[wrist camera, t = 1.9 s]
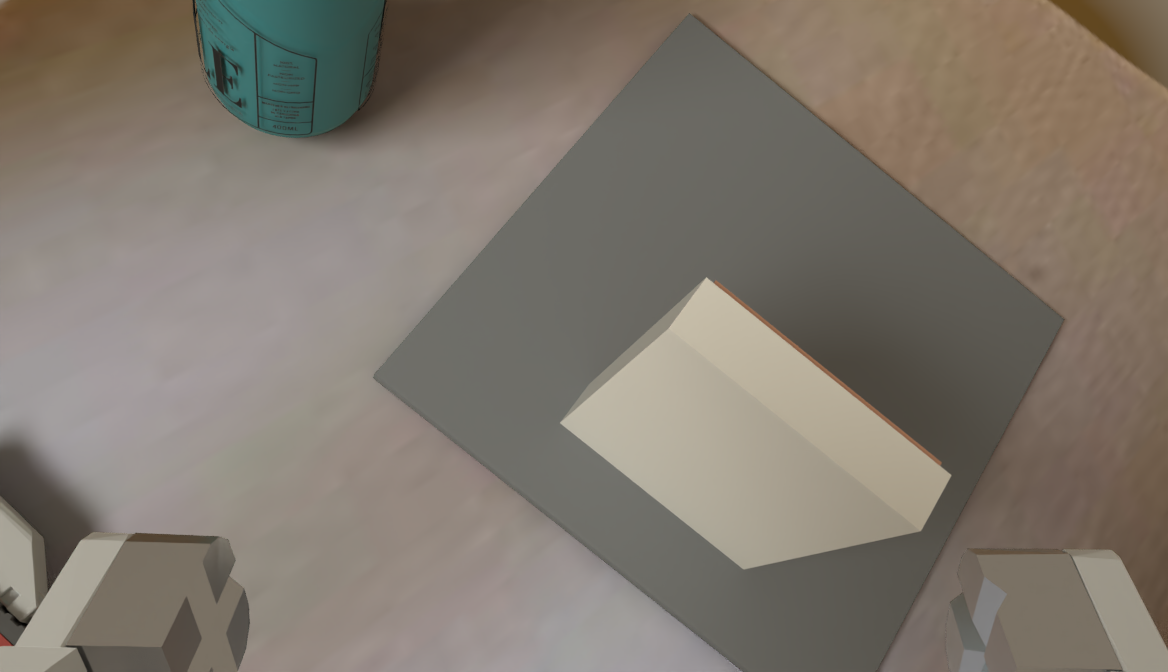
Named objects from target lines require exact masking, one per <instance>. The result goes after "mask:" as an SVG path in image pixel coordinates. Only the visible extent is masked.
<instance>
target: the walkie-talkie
mask: <svg viewBox="0 0 1168 672" xmlns="http://www.w3.org/2000/svg"><path fill="white" fill-rule="evenodd" d="M47 593H48V584H47V570H46V556H45V544H44V538H43V537H42V536H41V535H40V534H39V533H38V532H37V531H36V530H35V529H34V528H33V527H32V526H31V525H30V524H29V523H28V522H27V521H26V520H25V519H24V518H23V517H22V516H21V515H20V514H19V513H18V512H17V511H16V510H15V509H14V508H13V507H12V506H11V505H10V504H9V503H7V502H6V501H5V500H4V499H3V498H2V497H1V496H0V647H1V646H15V644H16V643H17V641H18V640H19V638H20V636H21V635H22V633H23V632H24V630H25V628H26V627H27V625H28V624H27V623H29V622H30V620H31V619H32V617H33V616H34V614H35V612H36V611H37V609H38V608H39V606H40V604H41V603H42V601H43V600H44V598H45V596H46V595H47Z"/></svg>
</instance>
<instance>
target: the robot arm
mask: <svg viewBox="0 0 1168 672" xmlns="http://www.w3.org/2000/svg"><path fill="white" fill-rule="evenodd" d="M235 561H236V560H235V557H234V554H233V551H232V548H231V546H230V543H229V540H228V539H225V538H222V537H218V536H194V535H171V534H147V533H135V534H127V533H104V532H92V533H91V534H89V535H88V536H86V537H85V538H84V539H82V540H81V541H80V542H79V543H78V545H77V547H76V548H75V550H74V551H73V553H72V555H71V556H70V558H69V559H68V561H67V563H66V564H65V566H64V567H63V569H62V571H61V572H60V574H59V576H58V577H57V579H56V580H55V582H54V584H53V585H52V587H51V588H50V590H49V592H48V593H47V595H46V596H45V598H44V600H43V601H42V603H41V604H40V606H39V608H38V609H37V611H36V612H35V614H34V616H33V617H32V619H31V620H30V622H29V624H28V625H27V627H26V628H25V630H24V632H23V633H22V635H21V636H20V638H19V640H18V641H17V643H16V644H15V646H1V647H0V672H237V671H238V669H239V666H240V664H241V661H242V658H243V656H244V653H245V650H246V645H247V638H248V632H249V625H250V619H249V605H248V600H247V597H246V593H245V590H244V588H243V587H242V586H241V585H239V584H238V583H237V582H236V581H235V580H233V579H232V578H231V577H230V576H229V575H230V573H231V570H232V568H233V566H234V563H235ZM957 575H958V578H959V581H960V584H961V587H962V590H963V593H961V594H960V595H959V596H958V597H956V598H955V599H954V600H952V601H951V602H950V606H949V610H948V615H947V620H946V654H947V660H948V667H949V671H950V672H1168V649H1167V647H1166V645H1165V643H1164V641H1163V639H1162V637H1161V635H1160V633H1159V631H1158V629H1157V627H1156V625H1155V623H1154V622H1153V620H1152V618H1151V616H1150V614H1149V612H1148V610H1147V608H1146V606H1145V604H1144V602H1143V600H1142V598H1141V596H1140V595H1139V593H1138V591H1137V589H1136V587H1135V585H1134V583H1133V581H1132V579H1131V577H1130V575H1129V573H1128V571H1127V569H1126V568H1125V566H1124V564H1123V562H1122V560H1121V558H1120V556H1118V555H1117V554H1116V553H1115V552H1114V551H1112V550H1090V549H1063V550H1058V549H967V550H966V552H965V553H964V554H963V556H962V557H961V561H960V565H959V569H958V573H957Z"/></svg>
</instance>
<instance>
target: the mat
mask: <svg viewBox="0 0 1168 672" xmlns="http://www.w3.org/2000/svg"><path fill="white" fill-rule="evenodd" d="M706 277H707V278H708V279H709V280H710V281H712V282H714V281H716V280H717V281H718V282H719V283H720V284H721V285H723V286H724V287H725V288H726V289H728V290H729V291H730V292H731V293H733V294H734V295H735V296H736V297H738V298H739V299H740V300H741V301H743V302H744V303H745V304H746V305H747V306H749V307H750V308H751V309H752V310H754V311H755V312H756V313H757V314H759V315H760V316H761V317H762V318H764V319H765V320H766V321H767V322H769V323H770V324H771V325H772V326H773V327H775V328H776V329H777V330H778V331H780V332H781V333H782V334H783V335H785V336H786V337H787V338H788V339H790V340H791V341H792V342H793V343H795V344H796V345H797V346H798V347H799V348H801V349H802V350H803V351H804V352H806V353H807V354H808V355H809V356H811V357H812V358H813V359H814V360H816V361H817V362H818V363H819V364H821V365H822V366H823V367H824V368H825V369H827V370H828V371H829V372H830V373H832V374H833V375H834V376H835V377H837V378H838V379H839V380H840V381H842V382H843V383H844V384H845V385H847V386H848V387H849V388H850V389H851V390H853V391H854V392H855V393H856V394H858V395H859V396H860V397H861V398H863V399H864V400H865V401H866V402H868V403H869V404H870V405H871V406H873V407H874V408H875V409H876V410H877V411H879V412H880V413H881V414H882V415H884V416H885V417H886V418H887V419H889V420H890V421H891V422H892V423H894V424H895V425H896V426H897V427H899V428H900V429H901V430H902V431H903V432H905V433H906V434H907V435H908V436H910V437H911V438H912V439H913V440H915V441H916V442H917V443H918V444H920V445H921V446H922V447H923V448H925V449H926V450H927V451H928V452H929V453H931V454H932V455H933V456H934V457H936V458H937V459H938V460H939V461H941V462H942V463H941V465H940V466H941V467H942V468H943V469H944V470H946V471H947V472H948V473H949V474H951V477H950V479H949V481H948V483H947V485H946V486H945V488H944V490H943V492H942V494H941V496H940V497H939V499H938V501H937V503H936V505H935V506H934V508H933V510H932V512H931V514H930V516H929V517H928V519H927V521H926V523H925V525H924V527H923V528H922V530H921V531H920V532H915V533H910V534H906V535H901V536H897V537H892V538H887V539H883V540H878V541H873V542H869V543H864V544H860V545H855V546H850V547H846V548H841V549H836V550H832V551H827V552H823V553H818V554H813V555H809V556H804V557H799V558H795V559H790V560H786V561H781V562H776V563H772V564H767V565H762V566H758V567H753V568H749V569H742V568H741V567H740V566H739V565H737V564H736V563H735V562H733V561H732V560H731V559H730V558H728V557H727V556H726V555H725V554H723V553H722V552H721V551H720V550H718V549H717V548H716V547H715V546H713V545H712V544H711V543H710V542H708V541H707V540H706V539H705V538H703V537H702V536H701V535H700V534H698V533H697V532H696V531H695V530H693V529H692V528H691V527H690V526H688V525H687V524H686V523H685V522H683V521H682V520H681V519H680V518H678V517H677V516H676V515H675V514H673V513H672V512H671V511H670V510H668V509H667V508H666V507H665V506H663V505H662V504H661V503H660V502H658V501H657V500H656V499H654V498H653V497H652V496H651V495H649V494H648V493H647V492H646V491H644V490H643V489H642V488H641V487H639V486H638V485H637V484H636V483H634V482H633V481H632V480H631V479H629V478H628V477H627V476H626V475H624V474H623V473H622V472H621V471H619V470H618V469H617V468H616V467H614V466H613V465H612V464H611V463H609V462H608V461H607V460H606V459H604V458H603V457H602V456H601V455H599V454H598V453H597V452H596V451H594V450H593V449H592V448H591V447H589V446H588V445H587V444H586V443H584V442H583V441H582V440H581V439H579V438H578V437H577V436H575V435H574V434H573V433H572V432H570V431H569V430H568V429H567V428H565V427H564V426H563V425H562V424H560V422H561V421H562V419H563V418H564V417H565V415H566V414H567V413H568V411H569V410H570V409H571V407H572V406H573V405H574V404H575V402H576V401H577V400H578V398H579V397H580V396H581V394H582V393H583V392H584V390H585V389H586V388H587V386H588V385H589V384H590V383H591V382H592V381H593V380H594V379H595V378H596V377H597V376H599V375H600V374H601V373H602V372H603V371H604V370H605V369H606V368H607V367H608V366H610V365H611V364H612V363H613V362H614V361H615V360H616V359H617V358H618V357H619V356H621V355H622V354H623V353H624V352H625V351H626V350H627V349H628V348H629V347H630V346H631V345H633V344H634V343H635V342H636V341H637V340H638V339H639V338H640V337H641V336H642V335H644V334H645V333H646V332H647V331H648V330H649V329H650V328H651V327H652V326H653V325H655V324H656V323H657V322H658V321H659V320H660V319H661V318H662V317H663V316H664V315H666V314H667V313H668V312H669V311H670V310H671V309H672V308H673V307H674V306H675V305H676V304H678V303H679V302H680V301H681V300H682V299H683V298H684V297H685V296H686V295H687V294H689V293H690V292H691V291H692V290H693V289H694V288H695V287H696V286H697V285H698V284H700V283H701V282H702V281H703V280H704V279H705V278H706ZM1063 321H1064V319H1063V318H1062V317H1061V316H1059V315H1058V314H1057V313H1056V312H1055V311H1053V310H1052V309H1051V308H1050V307H1048V306H1047V305H1046V304H1045V303H1044V302H1042V301H1041V300H1040V299H1039V298H1037V297H1036V296H1035V295H1034V294H1033V293H1031V292H1030V291H1029V290H1028V289H1026V288H1025V287H1024V286H1023V285H1022V284H1020V283H1019V282H1018V281H1017V280H1015V279H1014V278H1013V277H1012V276H1011V275H1009V274H1008V273H1007V272H1006V271H1004V270H1003V269H1002V268H1001V267H999V266H998V265H997V264H996V263H995V262H993V261H992V260H991V259H990V258H988V257H987V256H986V255H985V254H984V253H982V252H981V251H980V250H979V249H977V248H976V247H975V246H974V245H973V244H971V243H970V242H969V241H968V240H966V239H965V238H964V237H963V236H962V235H960V234H959V233H958V232H957V231H955V230H954V229H953V228H952V227H951V226H949V225H948V224H947V223H946V222H944V221H943V220H942V219H941V218H940V217H938V216H937V215H936V214H935V213H933V212H932V211H931V210H930V209H928V208H927V207H926V206H925V205H924V204H922V203H921V202H920V201H919V200H917V199H916V198H915V197H914V196H913V195H911V194H910V193H909V192H908V191H906V190H905V189H904V188H903V187H902V186H900V185H899V184H898V183H897V182H895V181H894V180H893V179H892V178H891V177H889V176H888V175H887V174H886V173H884V172H883V171H882V170H881V169H880V168H878V167H877V166H876V165H875V164H873V163H872V162H871V161H870V160H868V159H867V158H866V157H865V156H864V155H862V154H861V153H860V152H859V151H857V150H856V149H855V148H854V147H853V146H851V145H850V144H849V143H848V142H846V141H845V140H844V139H843V138H842V137H840V136H839V135H838V134H837V133H835V132H834V131H833V130H832V129H831V128H829V127H828V126H827V125H826V124H824V123H823V122H822V121H821V120H820V119H818V118H817V117H816V116H815V115H813V114H812V113H811V112H810V111H809V110H807V109H806V108H805V107H804V106H802V105H801V104H800V103H799V102H797V101H796V100H795V99H794V98H793V97H791V96H790V95H789V94H788V93H786V92H785V91H784V90H783V89H782V88H780V87H779V86H778V85H777V84H775V83H774V82H773V81H772V80H771V79H769V78H768V77H767V76H766V75H764V74H763V73H762V72H761V71H760V70H758V69H757V68H756V67H755V66H753V65H752V64H751V63H750V62H749V61H747V60H746V59H745V58H744V57H742V56H741V55H740V54H739V53H737V52H736V51H735V50H734V49H733V48H731V47H730V46H729V45H728V44H726V43H725V42H724V41H723V40H722V39H720V38H719V37H718V36H717V35H715V34H714V33H713V32H712V31H711V30H709V29H708V28H707V27H706V26H704V25H703V24H702V23H701V22H700V21H698V20H697V19H696V18H695V17H693V16H692V15H691V14H690V13H689V14H688V15H687V16H686V18H685V19H684V20H683V21H682V22H681V23H680V24H679V26H678V27H677V28H676V29H675V30H674V31H673V32H672V34H671V35H670V36H669V37H668V38H667V39H666V40H665V42H664V43H663V44H662V45H661V46H660V47H659V48H658V50H657V51H656V52H655V53H654V54H653V55H652V57H651V58H650V59H649V60H648V61H647V62H646V63H645V65H644V66H643V67H642V68H641V69H640V70H639V71H638V73H637V74H636V75H635V76H634V77H633V78H632V79H631V81H630V82H629V83H628V84H627V85H626V86H625V87H624V89H623V90H622V91H621V92H620V93H619V94H618V95H617V97H616V98H615V99H614V100H613V101H612V102H611V104H610V105H609V106H608V107H607V108H606V109H605V110H604V112H603V113H602V114H601V115H600V116H599V117H598V118H597V120H596V121H595V122H594V123H593V124H592V125H591V126H590V128H589V129H588V130H587V131H586V132H585V133H584V134H583V136H582V137H581V138H580V139H579V140H578V141H577V143H576V144H575V145H574V146H573V147H572V148H571V149H570V151H569V152H568V153H567V154H566V155H565V156H564V157H563V159H562V160H561V161H560V162H559V163H558V164H557V165H556V167H555V168H554V169H553V170H552V171H551V172H550V173H549V175H548V176H547V177H546V178H545V179H544V180H543V181H542V183H541V184H540V185H539V186H538V187H537V188H536V190H535V191H534V192H533V193H532V194H531V195H530V196H529V198H528V199H527V200H526V201H525V202H524V203H523V204H522V206H521V207H520V208H519V209H518V210H517V211H516V212H515V214H514V215H513V216H512V217H511V218H510V219H509V220H508V222H507V223H506V224H505V225H504V226H503V227H502V229H501V230H500V231H499V232H498V233H497V234H496V235H495V237H494V238H493V239H492V240H491V241H490V242H489V243H488V245H487V246H486V247H485V248H484V249H483V250H482V251H481V253H480V254H479V255H478V256H477V257H476V258H475V259H474V261H473V262H472V263H471V264H470V265H469V266H468V267H467V269H466V270H465V271H464V272H463V273H462V274H461V276H460V277H459V278H458V279H457V280H456V281H455V282H454V284H453V285H452V286H451V287H450V288H449V289H448V290H447V292H446V293H445V294H444V295H443V296H442V297H441V298H440V300H439V301H438V302H437V303H436V304H435V305H434V306H433V308H432V309H431V310H430V311H429V312H428V313H427V315H426V316H425V317H424V318H423V319H422V320H421V321H420V323H419V324H418V325H417V326H416V327H415V328H414V329H413V331H412V332H411V333H410V334H409V335H408V336H407V337H406V339H405V340H404V341H403V342H402V343H401V344H400V345H399V347H398V348H397V349H396V350H395V351H394V352H393V354H392V355H391V356H390V357H389V358H388V359H387V360H386V362H385V363H384V364H383V365H382V366H381V367H380V368H379V370H378V371H377V372H376V373H375V374H374V377H373V378H374V379H375V380H376V381H378V382H379V383H380V384H381V385H383V386H384V387H385V388H386V389H388V390H389V391H390V392H391V393H393V394H394V395H395V396H396V397H398V398H399V399H400V400H402V401H403V402H404V403H405V404H407V405H408V406H409V407H410V408H412V409H413V410H414V411H415V412H417V413H418V414H419V415H420V416H422V417H423V418H424V419H425V420H427V421H428V422H429V423H430V424H432V425H433V426H434V427H436V428H437V429H438V430H439V431H441V432H442V433H443V434H444V435H446V436H447V437H448V438H449V439H451V440H452V441H453V442H454V443H456V444H457V445H458V446H459V447H461V448H462V449H463V450H465V451H466V452H467V453H468V454H470V455H471V456H472V457H473V458H475V459H476V460H477V461H478V462H480V463H481V464H482V465H483V466H485V467H486V468H487V469H488V470H490V471H491V472H492V473H493V474H495V475H496V476H497V477H499V478H500V479H501V480H502V481H504V482H505V483H506V484H507V485H509V486H510V487H511V488H512V489H514V490H515V491H516V492H517V493H519V494H520V495H521V496H522V497H524V498H525V499H526V500H528V501H529V502H530V503H531V504H533V505H534V506H535V507H536V508H538V509H539V510H540V511H541V512H543V513H544V514H545V515H546V516H548V517H549V518H550V519H551V520H553V521H554V522H555V523H556V524H558V525H559V526H560V527H562V528H563V529H564V530H565V531H567V532H568V533H569V534H570V535H572V536H573V537H574V538H575V539H577V540H578V541H579V542H580V543H582V544H583V545H584V546H585V547H587V548H588V549H589V550H591V551H592V552H593V553H594V554H596V555H597V556H598V557H599V558H601V559H602V560H603V561H604V562H606V563H607V564H608V565H609V566H611V567H612V568H613V569H614V570H616V571H617V572H618V573H619V574H621V575H622V576H623V577H625V578H626V579H627V580H628V581H630V582H631V583H632V584H633V585H635V586H636V587H637V588H638V589H640V590H641V591H642V592H643V593H645V594H646V595H647V596H648V597H650V598H651V599H652V600H654V601H655V602H656V603H657V604H659V605H660V606H661V607H662V608H664V609H665V610H666V611H667V612H669V613H670V614H671V615H672V616H674V617H675V618H676V619H677V620H679V621H680V622H681V623H682V624H684V625H685V626H686V627H688V628H689V629H690V630H691V631H693V632H694V633H695V634H696V635H698V636H699V637H700V638H701V639H703V640H704V641H705V642H706V643H708V644H709V645H710V646H711V647H713V648H714V649H715V650H717V651H718V652H719V653H720V654H722V655H723V656H724V657H725V658H727V659H728V660H729V661H730V662H732V663H733V664H734V665H735V666H737V667H738V668H739V669H740V670H742V671H743V672H876V671H877V669H878V667H879V665H880V664H881V662H882V660H883V658H884V656H885V654H886V652H887V650H888V649H889V647H890V645H891V643H892V641H893V639H894V637H895V635H896V634H897V632H898V630H899V628H900V626H901V624H902V622H903V620H904V619H905V617H906V615H907V613H908V611H909V609H910V607H911V605H912V604H913V602H914V600H915V598H916V596H917V594H918V592H919V590H920V589H921V587H922V585H923V583H924V581H925V579H926V577H927V575H928V574H929V572H930V570H931V568H932V566H933V564H934V562H935V560H936V559H937V557H938V555H939V553H940V551H941V549H942V547H943V546H944V544H945V542H946V540H947V538H948V536H949V534H950V532H951V531H952V529H953V527H954V525H955V523H956V521H957V519H958V517H959V516H960V514H961V512H962V510H963V508H964V506H965V504H966V502H967V501H968V499H969V497H970V495H971V493H972V491H973V489H974V487H975V486H976V484H977V482H978V480H979V478H980V476H981V474H982V472H983V471H984V469H985V467H986V465H987V463H988V461H989V459H990V457H991V456H992V454H993V452H994V450H995V448H996V446H997V444H998V442H999V441H1000V439H1001V437H1002V435H1003V433H1004V431H1005V429H1006V427H1007V426H1008V424H1009V422H1010V420H1011V418H1012V416H1013V414H1014V412H1015V411H1016V409H1017V407H1018V405H1019V403H1020V401H1021V399H1022V397H1023V396H1024V394H1025V392H1026V390H1027V388H1028V386H1029V384H1030V382H1031V381H1032V379H1033V377H1034V375H1035V373H1036V371H1037V369H1038V367H1039V366H1040V364H1041V362H1042V360H1043V358H1044V356H1045V354H1046V352H1047V351H1048V349H1049V347H1050V345H1051V343H1052V341H1053V339H1054V337H1055V336H1056V334H1057V332H1058V330H1059V328H1060V326H1061V324H1062V322H1063Z"/></svg>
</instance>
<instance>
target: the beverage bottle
mask: <svg viewBox="0 0 1168 672" xmlns="http://www.w3.org/2000/svg"><path fill="white" fill-rule="evenodd" d="M385 2H387V1H386V0H196V2H195V0H193V8H192V9H193V10H194V12H193V16H194V23H195V30H196V37H197V44H198V46H197V47H198V53H199V56H200V58H199V59H201V54H200V47H199V46H200V43H199V40H198V39H199V38H198V33H197V32H198V30H197V26H196V14H197V13H198V18H199V26H200V30H199V31H200V33H201V38H200V39H201V41H202V48H203V56H204V63H205V68H204V69H206V70H205V71H206V73H207V77H208V79H209V81H208V82H210V84H211V86H212V88H213V90H214V92H215V94H216V95H217V97H218V98H219V99H220V101H221V102H222V103H223V104H224V105H225V106H226V109H227V110H228V111H229V112H230V113H232V114H233V115H234V116H236V117H237V118H238V119H239V120H241V121H242V122H244V123H245V124H247V125H249V126H251V127H253V128H255V129H257V130H259V131H262V132H265V133H268V134H272V135H276V136H282V137H293V138H300V137H310V136H315V135H319V134H322V133H325V132H328V131H330V130H332V129H334V128H336V127H338V126H340V125H341V124H343V123H344V122H345V121H346V120H348V119H349V118H350V117H351V116H352V115H353V114H354V113H355V112H356V111H357V109H358V110H360V109H361V108H360V109H359V107H360V106H361V104H362V103H363V102H364V100H365V98H366V96H367V94H368V92H369V90H372V89H373V88H372V87H371V85H372V79H374V78H373V76H374V75H373V74H375V73H374V71H375V70H377V69H378V68H377V67H379V65H378V64H380V63H378V62H379V59H380V58H379V59H378V58H377V59H378V62H377V63H378V64H376V65H378V66H376V65H375V61H376V54H378V53H379V52H378V51H377V47H378V48H379V46H378V45H379V43H380V42H379V40H380V41H381V39H382V38H381V39H380V35H381V31H382V30H381V29H383V27H382V25H383V24H384V23H383V24H382V22H383V18H384V17H383V16H385V15H384V9H385V4H386V3H385ZM195 3H197V4H196V5H197V9H196V14H195ZM191 4H192V3H191ZM197 11H198V12H197ZM386 11H387V9H386ZM385 13H386V12H385ZM387 13H388V12H387ZM385 18H386V17H385ZM384 32H385V31H384ZM200 33H199V35H200ZM382 36H383V35H382ZM378 42H379V43H378ZM381 43H382V42H381ZM380 46H381V45H380ZM380 48H382V47H380ZM379 51H381V50H379ZM379 54H381V53H379ZM378 57H380V56H378ZM199 61H200V60H199ZM201 62H202V61H201ZM202 65H203V64H202ZM202 65H200V66H201V67H202ZM203 67H204V66H203ZM375 67H376V68H377V69H375ZM374 69H375V70H374ZM202 70H203V69H202ZM375 72H377V71H375ZM203 73H204V72H203ZM377 73H378V72H377ZM377 73H376V74H377ZM376 74H375V75H376ZM204 75H205V74H204ZM204 75H203V76H204ZM205 76H206V75H205ZM375 77H376V76H375ZM204 79H205V78H204ZM206 79H207V78H206ZM373 81H374V80H373ZM375 81H376V80H375ZM206 83H207V82H206ZM210 84H209V85H210ZM374 84H375V83H374ZM207 85H208V84H207ZM372 86H373V85H372ZM208 87H209V86H208ZM370 87H371V88H372V89H370ZM373 87H374V86H373ZM209 89H210V88H209ZM373 90H374V89H373ZM210 91H211V90H210ZM211 92H212V91H211ZM370 92H371V91H370ZM372 92H373V91H372ZM371 94H372V93H371ZM213 95H214V94H213ZM368 95H369V94H368ZM214 96H215V95H214ZM370 96H371V95H370ZM367 97H368V96H367ZM215 98H216V97H215ZM369 98H370V97H369ZM216 99H217V98H216ZM217 100H218V99H217ZM218 101H219V100H218ZM220 101H219V102H220ZM367 101H368V100H367ZM367 101H366V102H367ZM365 104H366V103H365ZM365 104H364V105H365ZM364 105H363V106H364ZM223 107H224V106H223ZM224 108H225V107H224Z"/></svg>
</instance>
